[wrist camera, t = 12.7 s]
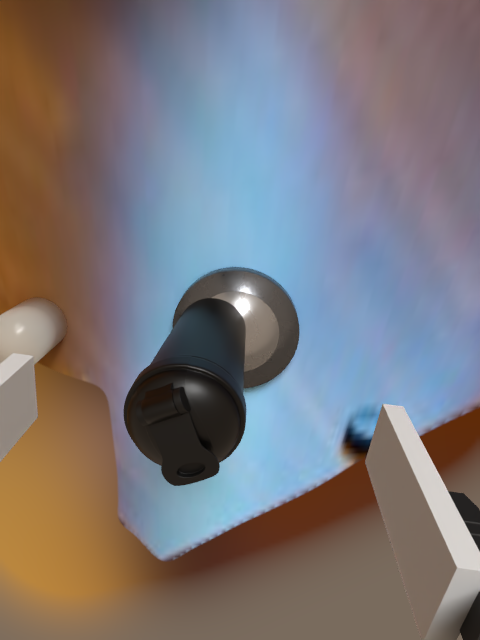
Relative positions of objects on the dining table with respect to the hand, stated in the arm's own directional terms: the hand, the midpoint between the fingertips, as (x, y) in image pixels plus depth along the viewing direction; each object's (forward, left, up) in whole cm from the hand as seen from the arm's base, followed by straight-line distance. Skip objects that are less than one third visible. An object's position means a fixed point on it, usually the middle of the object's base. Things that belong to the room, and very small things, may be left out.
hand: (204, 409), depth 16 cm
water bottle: (+12, -3, -36) cm, 38 cm away
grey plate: (+12, 0, -38) cm, 39 cm away
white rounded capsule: (+15, -26, -38) cm, 48 cm away
